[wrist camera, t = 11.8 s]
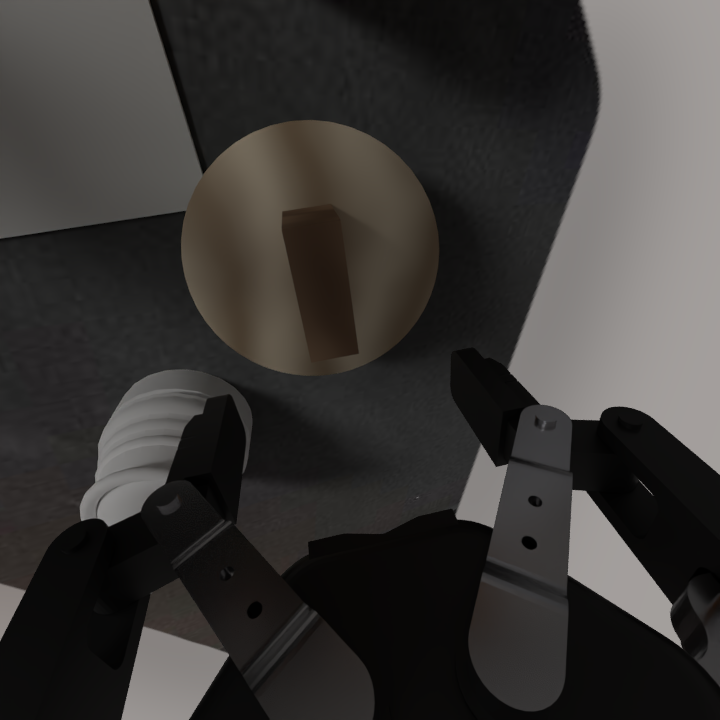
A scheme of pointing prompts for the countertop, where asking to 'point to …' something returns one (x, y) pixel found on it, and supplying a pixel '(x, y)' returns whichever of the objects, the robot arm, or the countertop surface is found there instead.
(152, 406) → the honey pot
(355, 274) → the lid
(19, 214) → the mat
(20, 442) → the countertop surface
